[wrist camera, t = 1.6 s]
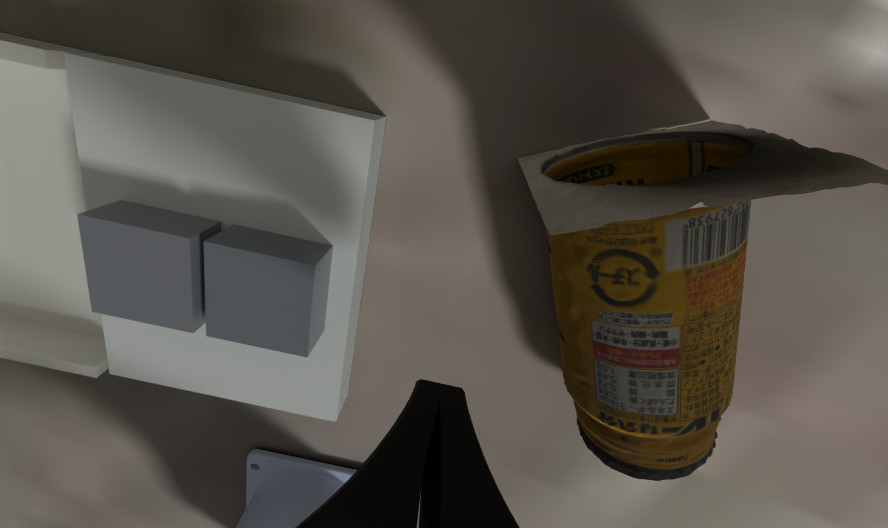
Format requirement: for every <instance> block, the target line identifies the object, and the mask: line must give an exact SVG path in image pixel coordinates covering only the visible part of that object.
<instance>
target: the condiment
mask: <svg viewBox="0 0 888 528" xmlns="http://www.w3.org/2000/svg"><path fill="white" fill-rule="evenodd" d="M516 159H518V161H519V164H520V166H521V168H522V170H523V173H524V175H525V177H526V180H527V182H528V185H529V188H530V191H531V193H532V196H533V198H534V200H535V202H536V204H537V208H538V211H539V212H540V214H541V216H542V219H543V222H544V224H545V226H546V230H547V238H548V247H549V253H550V263H551V275H552V284H553V295H554V302H555V307H556V318H557V323H558V329H559V330H558V332H559V342H560V350H561V354H560V355H561V360H562V371H563V378H564V381H565V382H564V383H565V385H566V388H567V390H568V392H569V394H570V395H571V396H572V398H573V400H574V405H575V409H576V411H577V425H578V426H579V431H580V435H581V436H582V438H583V440H584V442H585V444H586V446H587V447H588V449H590V450H591V451H592V452H593V453H594V454H595V455H596V456H597V457H598V458H599V459H600V460H601V461H602V462H603V463H604V464H605V465H607V466H609V467H610V468H612V469H614V470H617V471H619V472H621V473H624V474H626V475H628V476H630V477H634V478H637V479H646V480H655V481H660V480H666V479H676V478H681V477H685V476H688V475H690V474H691V473H692V472H693V471H695V470H696V469H697V468H698V467H700V466H701V465H703V464H704V463H706V460H707V458H708V457H710V456H711V455H712V452H713V450H712V449H713V448H715V446H716V443H715V439H716V438H717V432H716V429H717V426H718V423H719V422H720V420H721V417H720V416H721V415H722V414H723V413H724V412H725V410H726V409H727V407H728V406H729V405H730V401H731V398H732V393H733V383H734V374H735V365H736V353H737V341H738V333H739V323H740V311H741V303H742V290H743V281H744V270H745V261H746V247H747V236H748V228H749V219H750V207H751V200H752V199H758V198H763V197H770V196H777V195H786V194H804V193H810V192H815V191H819V190H824V189H834V188H839V187H852V186H859V185H863V184H867V183H880V184H884V185H888V170H885V169H883V168H881V167H879V166H876V165H874V164H872V163H870V162H868V161H866V160H864V159H861V158H858V157H855V156H852V155H848V154H844V153H837V152H831V151H828V150H826V149H822V148H808V147H805V146H802V145H800V144H799V143H797V142H796V141H794V140H793V139H785V138H783V137H781V136H779V135H777V134H774V133H767V132H766V131H763V130H758V129H754V128H748V129H746V128H745V127H743V126H741V125H735V124H727V123H722V122H716V121H713V120H711V121H707V122H703V123H699V124H694V125H689V126H683V127H677V128H673V129H669V130H668V129H661V130H650V131H645V132H638V133H634V134H631V135H627V134H626V135H623V136H618V137H611V138H604V139H599V140H595V141H591V142H587V143H580V144H576V145H572V146H566V147H564V148H562V149H558V150H549V151H547V152H545V153H539V154H533V155H530V156H524V157H520V158H516Z"/></svg>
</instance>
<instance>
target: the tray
mask: <svg viewBox="0 0 888 528" xmlns="http://www.w3.org/2000/svg"><path fill="white" fill-rule="evenodd" d="M64 53H77V54H89V55H102V54H98V53H93V52H89V51H84V50H80V49H75V48H71V47H66V46H62V45H57V44H52V43H48V42H43V41H39V40H34V39H30V38H25V37H20V36H16V35H11V34H7V33H2V32H0V358H4V359H9V360H13V361H18V362H23V363H28V364H32V365H37V366H42V367H46V368H51V369H56V370H61V371H65V372H70V373H75V374H80V375H84V376H89V377H94V378H97V377H98V376H100V375H101V374H102V373H104V372H105V371H106V370H108V369H109V367H108V360H107V353H106V346H105V339H104V332H103V325H102V317H101V314H100V313H95V312H92V309H91V303H90V296H89V290H88V283H87V276H86V270H85V263H84V257H83V250H82V244H81V237H80V231H79V224H78V217H77V214H79V213H82V212H85V211H86V205H85V198H84V191H83V184H82V177H81V170H80V163H79V156H78V149H77V142H76V135H75V128H74V121H73V114H72V107H71V100H70V93H69V86H68V79H67V72H66V65H65V58H64Z"/></svg>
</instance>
